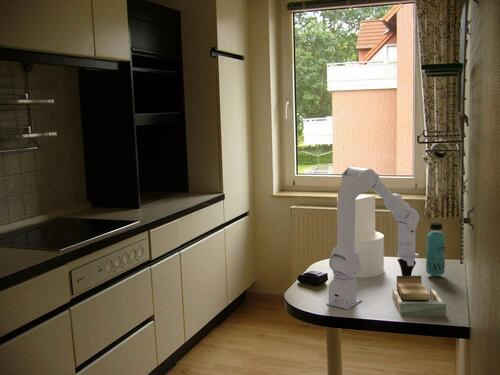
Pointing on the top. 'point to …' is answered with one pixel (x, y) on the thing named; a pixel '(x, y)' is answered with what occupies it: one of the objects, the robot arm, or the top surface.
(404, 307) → the pale green tray
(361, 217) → the white tall stepped piece
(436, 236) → the beverage bottle
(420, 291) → the small wooden block
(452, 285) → the top surface
